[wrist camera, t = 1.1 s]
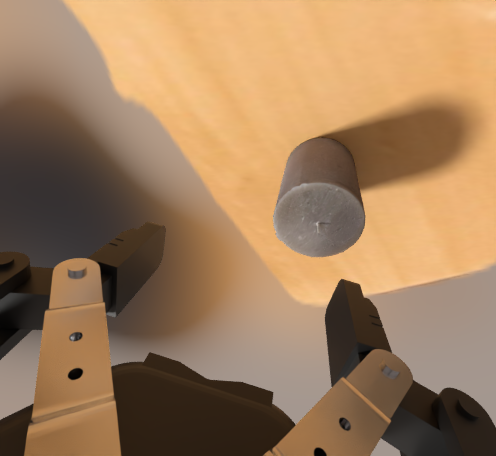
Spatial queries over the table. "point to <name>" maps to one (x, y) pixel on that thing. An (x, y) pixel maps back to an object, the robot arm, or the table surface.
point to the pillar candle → (319, 200)
